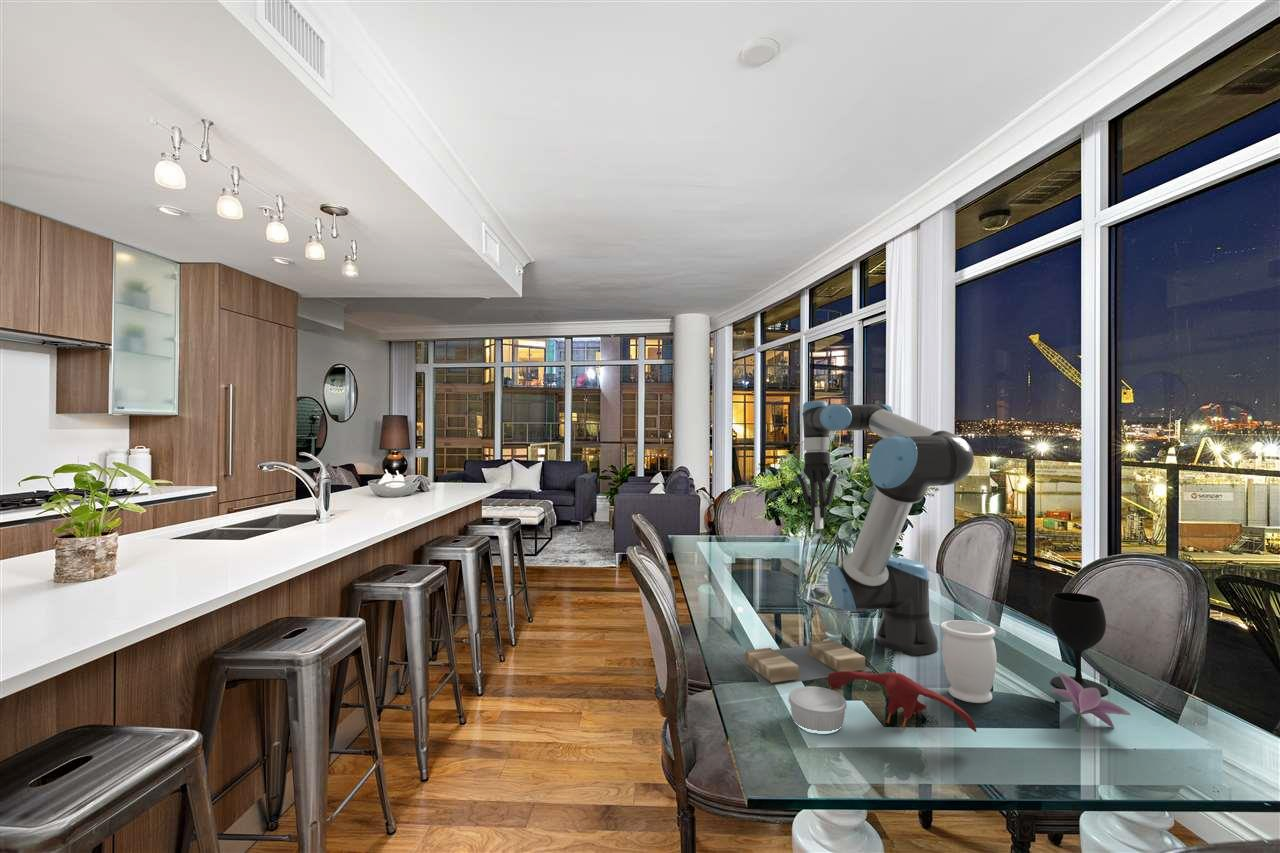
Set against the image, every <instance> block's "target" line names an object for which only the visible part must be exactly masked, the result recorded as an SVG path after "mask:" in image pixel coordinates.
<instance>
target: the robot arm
mask: <svg viewBox="0 0 1280 853" xmlns="http://www.w3.org/2000/svg"><path fill="white" fill-rule="evenodd" d="M802 424H803V425H802V427H803V429H802V430H803V450H804V451H805V452H804V454H803V455H804V456H803V457H804V458H803V460H804V468H803V471H802V472H801V473H797V474H796V478H797V481H799V483H800V487H801V492H802V494H803V499H804V503H805V505H807V506H810V507H811V517H812V518H814V528H815V530H822V529H824V519H825V518H827V507H828V506H831V505H832V504H833V500H834V494H835V490H836V484H837V481H838V479H839V478H840V474H838V473H835V472H834V471H833V470H832V468H831V456H830V454H831V453H830V451H829V450H830V432H839V431H840V432H841V431H847V432H848V431H869V432H870V433H873V434H876V435H877V436H879V437H881V439H880V440H879V441H877V442H876V443H875V444H874V446H873V447H872V449H871V450H870V453H869V456H868V457H869V458H868V462H867V463H868V464H869V466H868V469H867V471H868V474H869V477H870V479H871V481H872V484H873V488H875V492H874V495H873V497H872V500H871V503H870V506H869V508H868V510H867V513H866V515H865V519H864V521H863V524H862V528H861V530H860V532H859V535H858V536H857V540H856V543H855V546H854V548H853V550H852V552H848V553H847V554H846V555H845V556H844V558H843V560H842V562H841V565H840V566H832V567H830V569H829V570H828V573H827V583H828V584H827V585H828V589H829V593H830V596H831V598H832V601H833V603H834V605H835V606H836V608H838V609H839V610H841V611H843V612H854V613H855V612H860V611H861V612H862V611H873V610H882V616H881V619H880V622H879V625H878V629H877V633H876V642H877V643H878V645H880V646H882V647H884V648H885V649H888V650H891V651H894V652H895V651H896V652H900V653H902V654H905V655H912V656H913V655H914V656H919V655H920V656H921V655H929V654H933V653H935V652H937V651H938V649H939V647H938V646H939V644H938V643H939V642H938V641H939V640H938V637H937V635H936V633H935V630H934V627H933V624H932V621H931V618H930V591H929V590H930V588H929V585H930V584H929V582H930V579H929V578H930V577H929V572H928V571H929V570H928V567H927V565H925V564H924V563H922V562H919V561H916V560H912V559H907V558H901V557H894V556H891V555H892V554H893V552H894V549H895V546H896V544H897V541H898V539H899V536H900V534H901V532H902V530H903V527H904V526H905V523H906V521H907V518H908V516H909V513H910V511H911V509H912V506H913V505H914V504H916V503H918V502H921V501H922V500H923V499H924V497H925V494H926V492H927V490H928V488H929V487H939V486H941V487H943V486H950V485H954V484H957V483H958V482H961V481H962V480H963V479H965V478H966V477H967V476H969V474H970V472H971V471H972V468H973V466H974V462H975V461H974V458H975V456H974V452H973V449H972V447H971V445H970V444H969V443H968V442H967V441H966V440H965V439H963V438H962V437H961V436H959V435H957V434H954V433H952V432H949V431H947V430H934V429H932V428H929V427H927V426H925V425H922V424H920V423H917V422H916V421H912V420H911V419H909V418H906V417H904V416H901V415H899V414H897V413H895V412H894V409H892V406H890V405H888V404H881V403H875V404H840V403H832V404H829V405H828V402H827V401H826V400H825V401H824V400H812V401H806V402H804V403H803V405H802ZM828 478H829V482H828V487H827V491H826V484H827V479H828ZM807 479H808V480H809V485H810V489H809V485H808V481H807Z"/></svg>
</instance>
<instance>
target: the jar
mask: <svg viewBox="0 0 1280 853" xmlns="http://www.w3.org/2000/svg"><path fill="white" fill-rule="evenodd" d="M941 630H942V631H943V632H944V633H943V637H942V642H941V653H942V659H943V665H944V670H945V671H944V672H945V675H946V677H947V681H948V682H949V685H950V686H949V688H948V693H949V694H950V695H951V696H952V697H953V698H955V699H958V700H960V701H963V702H967V703H972V704H985V703H989V702H991V701H992V699H993V694H992V693H991V690H992V688H993V685H994V682H995V674H996V671H997V649H996V645H995V641H994V637H995V636H996V629H995V628H994V627H992V626H991V625H989V624H986V623H982V622H978V621H971V620H964V619H963V620H961V619H958V620H957V619H956V620H955V619H954V620H946V621H944V622H942V623H941Z"/></svg>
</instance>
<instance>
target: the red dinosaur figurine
mask: <svg viewBox="0 0 1280 853" xmlns="http://www.w3.org/2000/svg"><path fill="white" fill-rule="evenodd" d="M855 680H865V681H870V682H872V683H875V684H878V685H881V686H883V687H884V689H885V691H886V692H885V693H886V694H887V696H888V704H887V712H888V717H887V720H883V721H884V722H886V723H887V724H888V725H890V724H891V722H890V720H891V716H892V715H894V714H895V713H896V712H897V710H898V709H900V708H902V709H903V717H904V720H903V723H902V725H900V727H901V728H902V729H906V723H907V720H909V719H911V717H912V714H917V715H921V713H920V712H923V711H926V709H927V708H928V707H927V705H925V704H923V703H922V702H920V701H919V700H918V697H919V696H922V697H924V698H928V699H931V700H933V701H937V702H939V703H941V704H943V705H945V706H946V707H948V708H950V709H951V711H954V712H955V713H956V714H957V715H958V716H960V717H961V719H962V720H963V721H965V722H966V724H967V726H968V728H969V729H971V730H972V731H973V732H975V733H977V731H978V730H977V727H976V725H975V722H974V721H973V719H972V718H971V716H969V714H968V713H967V712H966V711H965V710H963V709H962V708H961V707H960V706H959V705H957V704H956V703H955V702H953V701H951V700H950V699H948V698H947V697H946V696H943V695H942V694H939V693H937V692H935V691H934V690H932V689H929V688H928V687H927V688H926V687H923V685H921V684H920V683H917V682H916V681H914V680H913V679H911V678H910V677H907V676H906V675H904V674H903V673H900V672H894V671H893V672H891V671H889V672H882V673H880V672H879V673H875V672H874V673H873V672H872V673H870V672H857V671H856V672H854V671H839V672H834V673H831V674H829V675H828V677H827V682H828V684H829V687H830V689H831V690H842V688H843V687H842V686H848V684H849V682H851V683H853V682H855Z"/></svg>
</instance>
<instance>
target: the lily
mask: <svg viewBox="0 0 1280 853" xmlns="http://www.w3.org/2000/svg"><path fill="white" fill-rule="evenodd" d="M1057 674H1058V676H1060V678H1061V679H1062V681H1063V683H1064V685H1065V687H1066V689H1067V690H1064V689H1058V688H1051V689H1050V690H1051V692H1054V693H1055V694H1057V695H1059V696H1061V697H1063V698H1064V699H1067V700H1069V701H1070V702H1072V703H1071V704H1072V707H1073V710H1074V713H1076V714H1077V715H1078V717H1077V720H1076V727H1075V732H1078V731H1079V724H1080V719H1081V717H1082V715H1088V714H1089V715H1090V714H1091V715H1094V716H1095V717H1096V718H1098V719H1099V720H1101V721H1102V722H1103V723H1105V724H1107V726H1109V727H1111V728H1112V729H1115V725H1114V723H1113V721H1112V720H1111V717H1110V716H1109V714H1110V715H1111V714H1113V715H1123V716H1131V715H1132V714H1131V713H1130V712H1129V711H1128V710H1126V709H1124V708H1123V707H1121V706H1119V705H1117V704H1115V703H1114V702H1112V701H1109V700H1107V699H1103V698H1102V697H1101V695H1100V692H1099V690H1098V689H1097V688H1085V689H1084V688H1083V687H1082V686H1081V685H1080V684H1079V683H1077V682H1076V681H1075V680H1073V679H1072V678H1070V677H1068V675H1067V674H1065V673H1063V672H1061V671H1057Z"/></svg>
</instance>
